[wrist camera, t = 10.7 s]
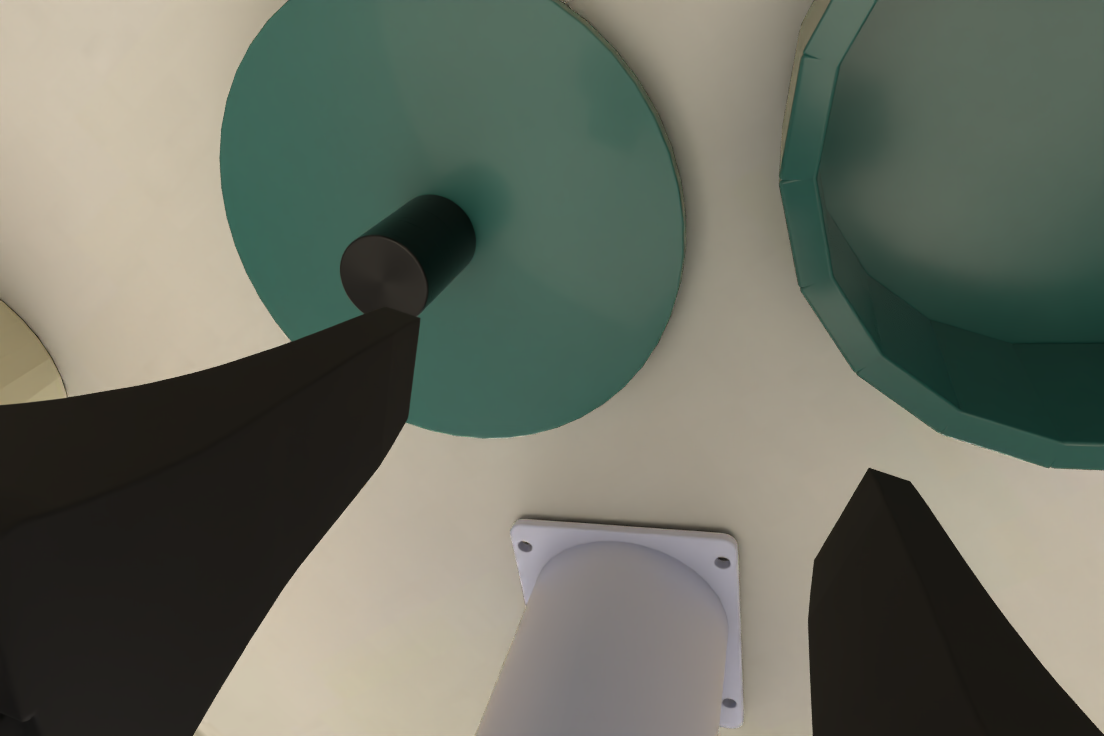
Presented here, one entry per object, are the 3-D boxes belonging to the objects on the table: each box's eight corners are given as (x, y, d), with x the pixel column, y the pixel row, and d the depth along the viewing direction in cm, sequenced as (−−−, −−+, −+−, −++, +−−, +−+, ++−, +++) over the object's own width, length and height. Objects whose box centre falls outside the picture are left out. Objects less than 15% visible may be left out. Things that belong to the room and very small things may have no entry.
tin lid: (701, 427, 24) (683, 521, 20) (316, 415, 28) (242, 491, 24) (671, -92, 17) (636, -97, 13) (175, -4, 21) (43, 11, 18)
